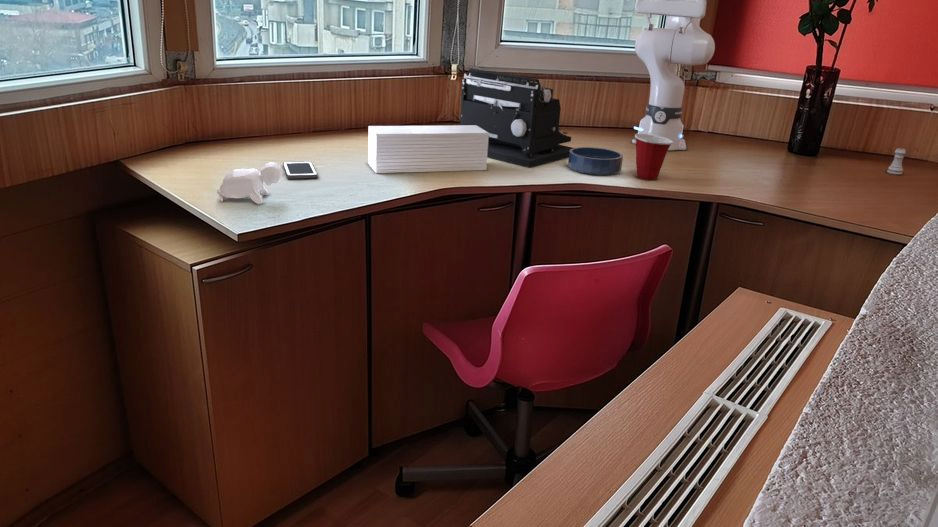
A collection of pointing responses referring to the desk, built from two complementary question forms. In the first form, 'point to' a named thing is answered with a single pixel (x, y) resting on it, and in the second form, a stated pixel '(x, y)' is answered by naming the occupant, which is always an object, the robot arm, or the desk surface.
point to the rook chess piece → (897, 163)
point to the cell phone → (300, 169)
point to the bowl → (595, 160)
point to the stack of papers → (427, 148)
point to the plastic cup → (650, 155)
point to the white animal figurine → (250, 182)
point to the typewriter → (514, 117)
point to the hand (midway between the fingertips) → (665, 32)
